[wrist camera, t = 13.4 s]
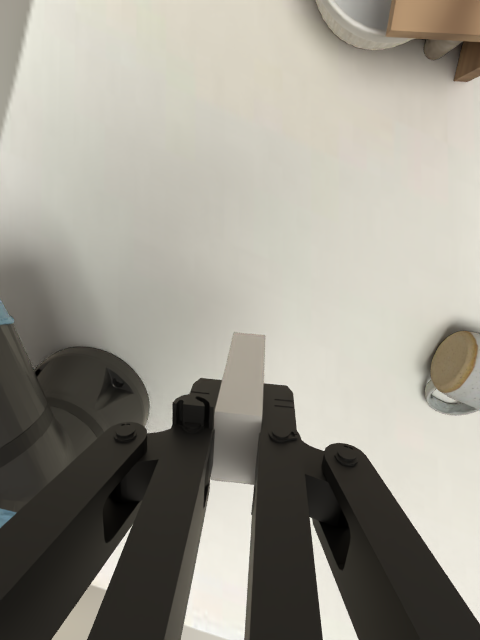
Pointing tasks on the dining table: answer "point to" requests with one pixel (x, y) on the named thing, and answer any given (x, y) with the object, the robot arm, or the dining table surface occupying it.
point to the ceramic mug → (456, 374)
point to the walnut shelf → (441, 29)
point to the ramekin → (360, 22)
